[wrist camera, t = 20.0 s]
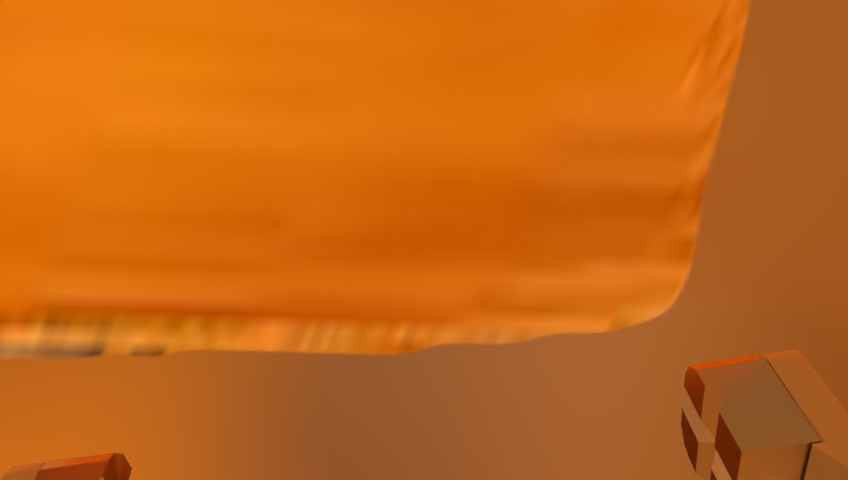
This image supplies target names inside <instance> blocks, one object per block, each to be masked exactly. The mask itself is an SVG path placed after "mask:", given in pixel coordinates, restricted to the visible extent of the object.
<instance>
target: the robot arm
mask: <svg viewBox="0 0 848 480" xmlns="http://www.w3.org/2000/svg"><path fill="white" fill-rule="evenodd" d="M684 387H685V389H686V391H687V393H688V395H689V397H690V400H689V401H688V402H687V403H686V404H685V405H684V406H683V407H682V415H681V427H682V434H683V440H684V445H685V448H686V451H687V454H688V457H689V459H690V462H691V464H692V466H693V468H694V470H695V473H697V474H698V475H700V476H701V477H703V478H704V479H706V480H848V414H847V412H846V411H845V410H844V408H843V407H842V406H841V404H840V403H839V402H838V400H837V399H836V398H835V396H834V395H833V394H832V392H831V391H830V390H829V388H828V387H827V386H826V385H825V383H824V382H823V380H822V379H821V378H820V376H819V375H818V374H817V372H816V371H815V370H814V368H813V367H812V366H811V365H810V363H809V362H808V360H807V359H806V358H805V357H804V355H803V354H802V353H801V352H799V351H797V350H795V349H794V350H787V351H781V352H774V353H768V354H762V355H759V356H755V355H754V356H748V357H742V358H736V359H730V360H723V361H717V362H711V363H705V364H699V365H692V366H689V367H688V368H687V371H686V372H685V380H684ZM131 470H132V468H131V466H130V464H129V463H128V461H127V459H126V458H125V456H124V455H123V454H121V453H111V454H104V455H95V456H88V457H79V458H71V459H63V460H55V461H48V462H43V463H35V464H28V465H20V466H14V467H12V468H11V469H10V470H9V471H8V472H7V473H5V474H4V476H3V477H2V479H1V480H129V477H130V474H131Z"/></svg>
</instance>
